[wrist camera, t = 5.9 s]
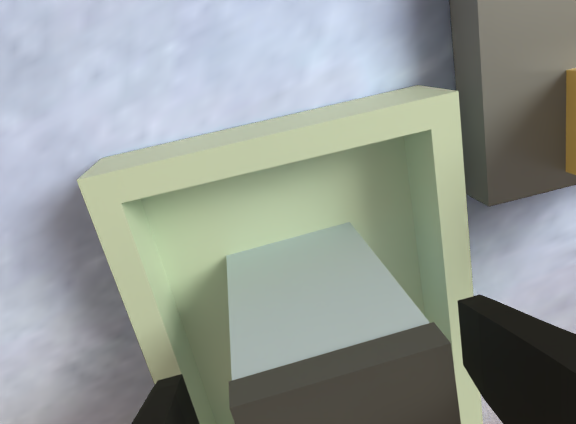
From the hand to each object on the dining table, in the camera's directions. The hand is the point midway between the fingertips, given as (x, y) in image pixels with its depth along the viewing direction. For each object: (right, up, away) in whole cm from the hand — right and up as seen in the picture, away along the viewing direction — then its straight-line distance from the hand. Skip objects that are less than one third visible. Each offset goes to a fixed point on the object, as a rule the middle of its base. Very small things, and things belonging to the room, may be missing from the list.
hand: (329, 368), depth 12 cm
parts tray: (-1, +1, +4) cm, 4 cm away
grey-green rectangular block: (-1, +1, +3) cm, 4 cm away
